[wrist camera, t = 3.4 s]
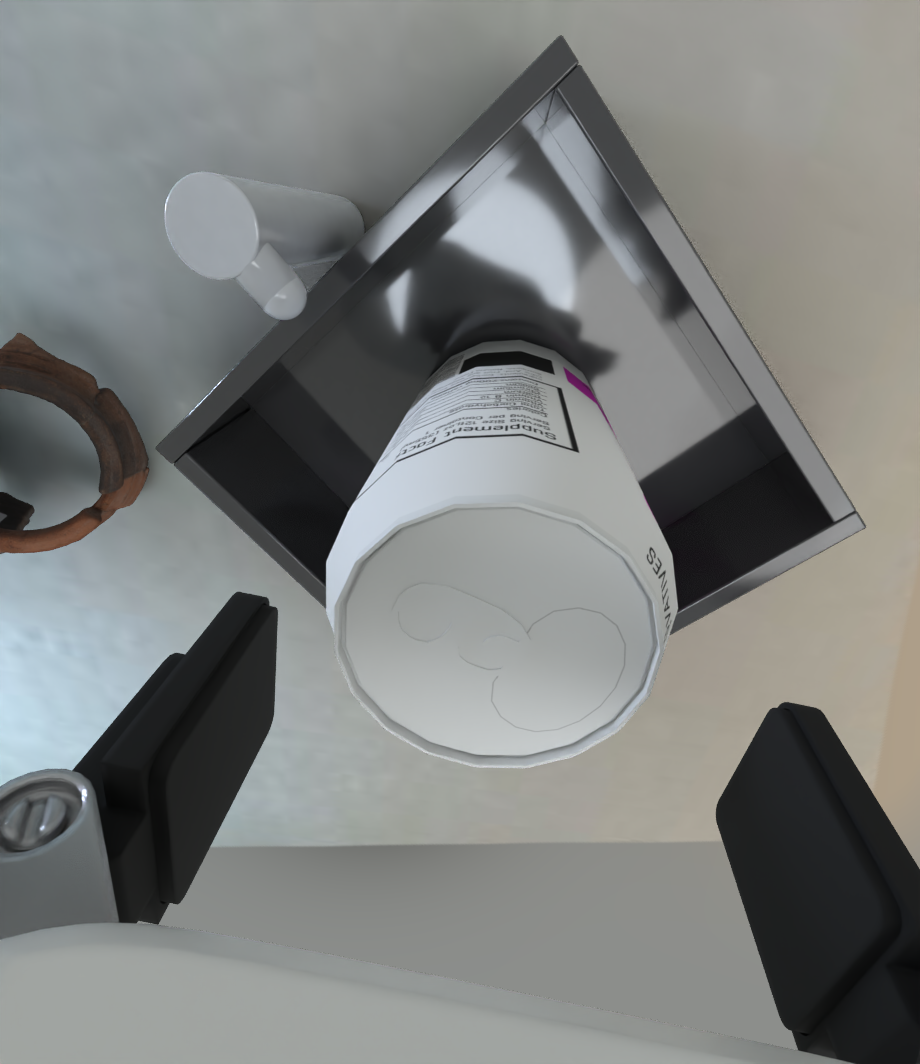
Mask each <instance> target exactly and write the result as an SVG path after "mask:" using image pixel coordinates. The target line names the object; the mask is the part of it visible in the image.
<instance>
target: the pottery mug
mask: <svg viewBox="0 0 920 1064" xmlns="http://www.w3.org/2000/svg"><path fill="white" fill-rule="evenodd" d="M0 389H7V390H14V391H17V392H20V393H26V394H30V395H33V396H36V397H39V398H41V399H44V400H47V401H48V402H51V403H53V404H55V405H56V406H58V407H59V408H61V409H62V410H64V411H65V412H66V413H68V414H69V415H70V416H71V417H72V418H73V419H75V420H76V421H77V422H78V423H79V424H80V426H81V427H82V428H83V429H84V431H85V432H86V433H87V434H88V436H89V437H90V439H91V441H92V442H93V444H94V446H95V448H96V451H97V454H98V457H99V462H100V469H101V474H100V483H99V492H100V493H101V494H102V495H101V497H100V498H99V499H98V501H97V502H96V503H95V504H94V505H93V506H92V507H89V508H86V509H84V510H82V511H81V512H80V513H79V514H77V515H76V516H74V517H73V518H71V519H69V520H67V521H65V522H63V523H61V524H58V525H55V526H52V527H48V528H44V529H38V530H23V529H24V527H25V526H26V525H27V524H28V523H29V522H30V520H29V518H30V517H31V516H32V514H33V513H34V507H33V506H32V505H30V504H28V503H26V502H23V501H20V500H18V499H16V498H14V497H13V496H11V495H9V494H7V493H4V492H0V554H2V553H5V552H8V553H35V552H42V551H49V550H54V549H56V548H60V547H63V546H66V545H69V544H71V543H73V542H76V541H79V540H81V539H82V538H83V537H85V536H86V535H88V534H89V533H90V532H92V531H93V530H94V529H96V528H97V527H98V526H99V525H100V524H102V523H103V522H105V521H106V520H107V519H109V518H110V517H111V516H112V515H113V514H114V513H115V511H116V510H117V509H120V508H124V507H127V506H130V505H131V504H133V502H134V501H135V500H136V498H137V497H138V495H139V493H140V491H141V490H142V488H143V486H144V484H145V481H146V478H147V476H148V472H149V468H148V467H147V466H148V456H147V453H146V449H145V446H144V443H143V441H142V439H141V436H140V434H139V432H138V430H137V427H136V425H135V423H134V422H133V420H132V418H131V416H130V414H129V413H128V411H127V410H126V408H125V407H124V406H123V405H122V403H121V402H120V400H119V399H118V397H117V396H116V395H115V393H114V392H113V391H111V390H110V389H108V388H102V389H98V386H97V382H96V379H95V378H94V376H92V375H91V374H89V373H87V372H86V371H84V370H82V369H81V368H79V367H77V366H74V365H72V364H69V363H67V362H65V361H64V360H61V359H58V358H56V357H55V356H53V355H51V354H50V353H48V352H46V351H45V350H43V349H42V348H40V347H39V346H37V345H36V344H35V342H34V341H32V340H31V339H30V338H28V337H26V336H25V335H23V334H22V333H17V334H16V336H15V337H14V338H13V339H12V340H10V341H9V342H8V343H7V344H5V345H4V346H3V347H2V348H1V349H0Z"/></svg>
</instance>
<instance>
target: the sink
mask: <svg viewBox="0 0 920 1064" xmlns="http://www.w3.org/2000/svg"><path fill="white" fill-rule="evenodd" d="M544 123H546V125H545V124H544ZM543 124H544V125H543ZM542 125H543V126H542ZM547 127H548V128H547ZM549 130H550V131H549ZM551 133H552V134H551ZM553 136H554V137H553ZM513 153H514V154H513ZM512 154H513V155H512ZM511 155H512V156H511ZM572 165H573V166H572ZM574 168H575V169H574ZM576 171H577V172H576ZM578 174H579V175H578ZM580 177H581V178H580ZM582 180H583V181H582ZM482 183H483V184H482ZM481 184H482V185H481ZM480 185H481V186H480ZM452 212H453V213H452ZM603 212H604V213H603ZM451 213H452V214H451ZM450 214H451V215H450ZM605 215H606V216H605ZM164 218H165V227H166V231H167V235H168V238H169V240H170V243H171V245H172V247H173V249H174V250H175V252H176V253H177V255H178V256H179V257H180V259H181V260H182V261H183V262H184V263H185V264H186V265H187V266H188V267H189V268H191V269H192V270H193V271H195V272H196V273H198V274H200V275H202V276H204V277H207V278H210V279H214V280H229V279H235V280H236V281H237V282H238V283H239V284H240V285H241V286H242V288H243V289H244V290H245V291H246V292H247V293H248V294H249V295H250V296H251V298H252V299H253V300H254V301H255V302H256V303H257V304H258V305H259V306H260V307H261V309H262V310H263V311H264V312H265V313H266V314H268V315H269V316H271V317H272V318H275V319H278V320H280V321H279V322H278V323H277V324H276V325H275V326H274V327H273V328H272V329H271V330H270V331H269V332H268V333H267V334H266V335H265V336H264V337H263V338H262V339H261V340H260V341H259V342H258V343H257V344H256V345H255V346H254V347H253V348H252V349H251V351H250V352H249V353H248V354H247V355H246V356H245V357H244V358H243V359H242V360H241V361H240V362H239V363H238V364H237V365H236V366H235V367H234V368H233V369H232V370H231V371H230V372H229V373H228V374H227V375H226V376H225V377H224V378H223V379H222V380H221V381H220V382H219V383H218V384H217V385H216V386H215V387H214V388H213V389H212V390H211V391H210V392H209V393H208V394H207V395H206V396H205V397H204V398H203V399H202V401H201V402H200V403H199V404H198V405H197V406H196V407H195V408H194V409H193V410H192V411H191V412H190V413H189V414H188V415H187V416H186V417H185V418H184V419H183V420H182V421H181V422H180V423H179V424H178V425H177V426H176V427H175V428H174V429H173V430H172V431H171V432H170V433H169V434H168V435H167V436H166V437H165V438H164V439H163V440H162V441H161V442H160V443H159V444H158V445H157V446H156V450H157V451H158V452H160V453H161V454H162V455H163V456H164V457H165V458H166V459H167V460H168V461H169V462H170V463H172V464H173V463H174V466H175V467H176V468H177V469H178V470H179V471H180V472H181V473H182V474H183V475H184V476H185V477H186V478H188V479H189V480H190V481H191V482H192V483H193V484H194V485H195V486H196V487H197V488H198V489H199V490H200V491H201V492H202V493H203V494H205V495H206V496H207V497H208V498H209V499H210V500H211V501H212V502H213V503H214V504H215V505H216V506H217V507H218V508H219V509H220V510H222V511H223V512H224V513H225V514H226V515H227V516H228V517H229V518H230V519H231V520H232V521H233V522H234V523H235V524H236V525H238V526H239V527H240V528H241V529H242V530H243V531H244V532H245V533H246V534H247V535H248V536H249V537H250V538H251V539H252V540H253V541H255V542H256V543H257V544H258V545H259V546H260V547H261V548H262V549H263V550H264V551H265V552H266V553H267V554H268V555H269V556H270V557H272V558H273V559H274V560H275V561H276V562H277V563H278V564H279V565H280V566H281V567H282V568H283V569H284V570H285V571H286V572H288V573H289V574H290V575H291V576H292V577H293V578H294V579H295V580H296V581H297V582H298V583H299V584H300V585H301V586H302V587H303V588H305V589H306V590H307V591H308V592H309V593H310V594H311V595H312V596H313V597H314V598H315V599H316V600H317V601H318V602H319V603H320V604H322V605H323V606H324V607H325V608H326V561H327V559H328V556H329V554H330V552H331V550H332V547H333V545H334V543H335V541H336V538H337V536H338V534H339V531H340V529H341V527H342V525H343V522H344V520H345V518H346V516H347V513H348V511H349V510H350V508H351V506H352V505H353V503H354V501H355V500H356V498H357V496H358V495H359V493H360V491H361V490H362V488H363V486H364V485H365V483H366V481H367V479H368V478H369V476H370V474H371V473H372V471H373V469H374V468H375V466H376V464H377V463H378V461H379V459H380V458H381V456H382V454H383V453H384V451H385V449H386V448H387V446H388V444H389V443H390V441H391V439H392V438H393V436H394V434H395V432H396V431H397V429H398V427H399V426H400V424H401V422H402V421H403V419H404V417H405V416H406V414H407V412H408V411H409V409H410V407H411V406H412V404H413V402H414V401H415V399H416V397H417V396H418V394H419V392H420V391H421V389H422V387H423V385H424V384H425V382H426V381H427V380H428V379H429V378H430V377H431V376H432V375H433V374H434V373H435V372H436V371H437V370H438V369H439V368H440V367H441V366H442V365H443V364H444V363H445V362H446V361H447V360H448V359H449V358H450V357H451V356H454V355H456V354H458V353H460V352H463V351H465V350H467V349H469V348H472V347H474V346H476V345H478V344H481V343H483V342H494V341H510V340H522V341H525V342H528V343H532V344H535V345H538V346H541V347H544V348H548V349H551V350H554V351H556V352H557V353H558V354H559V355H561V356H562V357H563V358H565V359H566V360H567V361H568V362H570V363H571V364H572V365H573V366H575V367H576V368H577V369H578V370H580V371H581V372H582V373H583V374H584V376H585V378H586V380H587V381H588V383H589V385H590V387H591V388H592V390H593V392H594V393H595V395H596V397H597V399H598V400H599V402H600V404H601V406H602V408H603V410H604V413H605V415H606V417H607V419H608V421H609V423H610V425H611V427H612V429H613V431H614V433H615V436H616V438H617V440H618V442H619V444H620V446H621V448H622V450H623V452H624V454H625V457H626V459H627V461H628V463H629V465H630V467H631V469H632V471H633V473H634V475H635V478H636V480H637V482H638V484H639V486H640V488H641V490H642V492H643V494H644V496H645V499H646V501H647V503H648V505H649V507H650V509H651V511H652V513H653V515H654V517H655V519H656V522H657V524H658V526H659V528H660V530H661V529H662V530H661V532H662V534H663V536H664V538H665V540H666V543H667V545H668V547H669V549H670V551H671V553H672V557H673V566H674V576H675V585H676V594H677V603H678V610H677V614H676V617H675V620H674V623H673V626H672V629H671V632H670V635H671V634H673V633H675V632H677V631H678V630H680V629H682V628H684V627H686V626H688V625H689V624H691V623H693V622H695V621H697V620H699V619H700V618H702V617H704V616H706V615H708V614H709V613H711V612H713V611H715V610H717V609H719V608H720V607H722V606H724V605H726V604H728V603H730V602H731V601H733V600H735V599H737V598H739V597H740V596H742V595H744V594H746V593H748V592H750V591H751V590H753V589H755V588H757V587H759V586H761V585H762V584H764V583H766V582H768V581H770V580H772V579H773V578H775V577H777V576H779V575H781V574H782V573H784V572H786V571H788V570H790V569H792V568H793V567H795V566H797V565H799V564H801V563H803V562H804V561H806V560H808V559H810V558H812V557H813V556H815V555H817V554H819V553H821V552H823V551H824V550H826V549H828V548H830V547H832V546H834V545H835V544H837V543H839V542H841V541H843V540H844V539H846V538H848V537H850V536H852V535H854V534H855V533H857V532H859V531H861V530H863V529H865V528H866V525H865V523H864V521H863V520H862V518H861V517H860V515H859V513H858V512H857V511H856V509H855V507H854V505H853V504H852V502H851V500H850V499H849V497H848V496H847V494H846V492H845V491H844V489H843V487H842V486H841V484H840V483H839V481H838V479H837V478H836V476H835V475H834V473H833V471H832V470H831V468H830V466H829V465H828V463H827V462H826V460H825V458H824V457H823V455H822V454H821V452H820V450H819V449H818V447H817V445H816V444H815V442H814V441H813V439H812V437H811V436H810V434H809V433H808V431H807V429H806V428H805V426H804V425H803V423H802V421H801V420H800V418H799V416H798V415H797V413H796V412H795V410H794V408H793V407H792V405H791V404H790V402H789V400H788V399H787V397H786V395H785V394H784V392H783V391H782V389H781V387H780V386H779V384H778V383H777V381H776V379H775V378H774V376H773V374H772V373H771V371H770V370H769V368H768V366H767V365H766V363H765V362H764V360H763V358H762V357H761V355H760V353H759V352H758V350H757V349H756V347H755V345H754V344H753V342H752V341H751V339H750V337H749V336H748V334H747V332H746V331H745V329H744V328H743V326H742V324H741V323H740V321H739V320H738V318H737V316H736V315H735V313H734V311H733V310H732V308H731V307H730V305H729V303H728V302H727V300H726V299H725V297H724V295H723V294H722V292H721V291H720V289H719V287H718V286H717V284H716V282H715V281H714V279H713V278H712V276H711V274H710V273H709V271H708V270H707V268H706V266H705V265H704V263H703V261H702V260H701V258H700V257H699V255H698V253H697V252H696V250H695V249H694V247H693V245H692V244H691V242H690V240H689V239H688V237H687V236H686V234H685V232H684V231H683V229H682V228H681V226H680V224H679V223H678V221H677V219H676V218H675V216H674V215H673V213H672V211H671V210H670V208H669V207H668V205H667V203H666V202H665V200H664V198H663V197H662V195H661V194H660V192H659V190H658V189H657V187H656V186H655V184H654V182H653V181H652V179H651V177H650V176H649V174H648V173H647V171H646V169H645V168H644V166H643V165H642V163H641V161H640V160H639V158H638V157H637V155H636V153H635V152H634V150H633V148H632V147H631V145H630V144H629V142H628V140H627V139H626V137H625V136H624V134H623V132H622V131H621V129H620V127H619V126H618V124H617V123H616V121H615V119H614V118H613V116H612V115H611V113H610V111H609V110H608V108H607V106H606V105H605V103H604V102H603V100H602V98H601V97H600V95H599V94H598V92H597V90H596V89H595V87H594V85H593V84H592V82H591V81H590V79H589V77H588V76H587V74H586V73H585V71H584V69H583V68H582V66H581V65H578V60H577V58H576V56H575V55H574V53H573V52H572V50H571V48H570V47H569V45H568V43H567V42H566V40H565V39H564V37H563V36H562V35H560V36H558V37H557V38H556V39H555V40H554V41H553V42H552V43H551V44H550V45H549V46H548V47H547V49H546V50H545V51H544V52H543V53H542V54H541V55H540V56H539V57H538V58H537V59H536V60H535V61H534V62H533V63H532V64H531V65H530V66H529V67H528V68H527V69H526V70H525V71H524V72H523V73H522V74H521V75H520V76H519V77H518V78H517V79H516V80H515V81H514V82H513V83H512V84H511V85H510V86H509V87H508V88H507V89H506V90H505V91H504V92H503V93H502V94H501V95H500V96H499V97H498V98H497V100H496V101H495V102H494V103H493V104H492V105H491V106H490V107H489V108H488V109H487V110H486V111H485V112H484V113H483V114H482V115H481V116H480V117H479V118H478V119H477V120H476V121H475V122H474V123H473V124H472V125H471V126H470V127H469V128H468V129H467V130H466V131H465V132H464V133H463V134H462V135H461V136H460V137H459V138H458V139H457V140H456V141H455V142H454V143H453V144H452V145H451V146H450V147H449V148H448V150H447V151H446V152H445V153H444V154H443V155H442V156H441V157H440V158H439V159H438V160H437V161H436V162H435V163H434V164H433V165H432V166H431V167H430V168H429V169H428V170H427V171H426V172H425V173H424V174H423V175H422V176H421V177H420V178H419V179H418V180H417V181H416V182H415V183H414V184H413V185H412V186H411V187H410V188H409V189H408V190H407V191H406V192H405V193H404V194H403V195H402V196H401V197H400V198H399V200H398V201H397V202H396V203H395V204H394V205H393V206H392V207H391V208H390V209H389V210H388V211H387V212H386V213H385V214H384V215H383V216H382V217H381V218H380V219H379V220H378V221H377V222H376V223H375V224H374V225H373V226H372V227H371V228H370V229H369V230H368V231H367V232H366V233H365V234H364V222H363V218H362V216H361V214H360V212H359V210H358V209H357V207H356V206H355V205H354V204H353V203H352V202H351V201H350V200H348V199H347V198H345V197H342V196H339V195H333V194H328V193H322V192H317V191H311V190H306V189H300V188H295V187H290V186H284V185H279V184H273V183H268V182H262V181H257V180H251V179H246V178H240V177H235V176H229V175H224V174H218V173H213V172H207V171H200V172H194V173H191V174H188V175H186V176H184V177H183V178H181V179H180V180H179V181H178V182H177V183H176V184H175V185H174V186H173V188H172V189H171V191H170V193H169V195H168V197H167V201H166V205H165V213H164ZM607 218H608V219H607ZM609 221H610V222H609ZM611 224H612V225H611ZM421 242H422V243H421ZM420 243H421V244H420ZM419 244H420V245H419ZM632 256H633V257H632ZM634 259H635V260H634ZM335 260H339V261H338V262H337V263H336V264H335V265H334V266H333V267H332V268H331V269H330V270H329V271H328V272H327V273H326V274H325V275H324V276H323V277H322V278H321V279H320V280H319V281H318V282H317V283H316V284H315V285H314V286H313V287H312V288H311V289H310V290H309V291H308V292H307V291H306V287H305V285H304V283H303V281H302V280H301V279H300V277H299V276H298V275H297V274H296V273H295V272H294V270H293V269H292V268H296V267H301V266H307V265H313V264H318V263H324V262H329V261H335ZM636 262H637V263H636ZM638 265H639V266H638ZM640 268H641V269H640ZM390 272H391V273H390ZM389 273H390V274H389ZM388 274H389V275H388ZM661 300H662V301H661ZM359 302H360V303H359ZM358 303H359V304H358ZM663 303H664V304H663ZM357 304H358V305H357ZM665 306H666V307H665ZM667 309H668V310H667ZM669 312H670V313H669ZM328 332H329V333H328ZM327 333H328V334H327ZM326 334H327V335H326ZM690 344H691V345H690ZM692 347H693V348H692ZM694 350H695V351H694ZM696 353H697V354H696ZM698 356H699V357H698ZM297 362H298V363H297ZM296 363H297V364H296ZM719 388H720V389H719ZM721 391H722V392H721ZM266 392H267V393H266ZM265 393H266V394H265ZM723 394H724V395H723ZM725 397H726V398H725ZM727 400H728V401H727ZM251 407H252V408H253V409H254V410H255V411H256V412H257V413H258V414H259V415H260V416H261V417H262V418H263V419H262V418H261V417H260V416H259V415H258V414H257V413H256V412H255V411H254V410H253V409H252V408H251ZM748 432H749V433H748ZM750 435H751V436H750ZM280 437H281V438H282V439H283V440H284V441H285V442H286V443H287V444H288V445H289V446H290V447H291V448H292V449H293V450H294V451H295V452H296V453H297V454H298V455H297V454H296V453H295V452H294V451H293V450H292V449H291V448H290V447H289V446H288V445H287V444H286V443H285V442H284V441H283V440H282V439H281V438H280ZM752 438H753V439H752ZM754 441H755V442H754ZM756 444H757V445H756ZM768 462H769V463H768ZM764 465H765V466H764ZM761 467H762V468H761ZM759 468H760V469H759ZM756 470H757V471H756ZM753 472H754V473H753ZM751 473H752V474H751ZM316 474H317V475H318V476H319V477H320V478H321V479H322V480H323V481H324V482H325V483H326V484H327V485H328V486H329V487H330V488H331V489H332V490H333V491H332V490H331V489H330V488H329V487H328V486H327V485H326V484H325V483H324V482H323V481H322V480H321V479H320V478H319V477H318V476H317V475H316ZM748 475H749V476H748ZM743 478H744V479H743ZM740 480H741V481H740ZM735 483H736V484H735ZM732 485H733V486H732ZM727 488H728V489H727ZM724 490H725V491H724ZM722 491H723V492H722ZM719 493H720V494H719ZM716 495H717V496H716ZM714 496H715V497H714ZM711 498H712V499H711ZM706 501H707V502H706ZM703 503H704V504H703ZM698 506H699V507H698ZM695 508H696V509H695ZM690 511H691V512H690ZM687 513H688V514H687ZM685 514H686V515H685ZM682 516H683V517H682ZM679 518H680V519H679ZM677 519H678V520H677ZM674 521H675V522H674ZM669 524H670V525H669ZM666 526H667V527H666Z"/></svg>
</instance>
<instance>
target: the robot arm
mask: <svg viewBox="0 0 920 1064" xmlns="http://www.w3.org/2000/svg"><path fill="white" fill-rule="evenodd" d="M277 622H278V610H277V608H276V607H272V606H269V600H268V598H267V597H262V596H257V595H252V594H247V593H242V592H236V593H235V594H234V595H233V596H232V597H231V598H230V599H229V601H228V602H227V603H226V604H225V606H224V607H223V608H222V609H221V611H220V612H219V613H218V614H217V616H216V617H215V618H214V619H213V621H212V622H211V623H210V625H209V626H208V627H207V628H206V630H205V631H204V632H203V633H202V635H201V636H200V637H199V638H198V640H197V641H196V642H195V643H194V645H193V646H192V647H191V648H190V650H189V651H188V652H187V653H186V655H185V654H180V653H174V654H172V655H170V656H169V657H168V658H167V659H166V660H165V661H164V662H163V663H162V664H161V665H160V666H159V668H158V669H157V670H156V671H155V672H154V674H153V675H152V676H151V677H150V678H149V680H148V681H147V682H146V683H145V684H144V686H143V687H142V688H141V689H140V690H139V692H138V693H137V694H136V695H135V696H134V698H133V699H132V700H131V701H130V702H129V704H128V705H127V706H126V707H125V708H124V709H123V711H122V712H121V713H120V714H119V715H118V717H117V718H116V719H115V720H114V721H113V723H112V724H111V725H110V726H109V727H108V729H107V730H106V731H105V732H104V733H103V735H102V736H101V737H100V738H99V739H98V741H97V742H96V743H95V744H94V745H93V747H92V748H91V749H90V750H89V751H88V753H87V754H86V755H85V756H84V757H83V758H82V760H81V761H80V762H79V763H78V764H77V766H76V767H75V768H74V769H73V770H72V771H71V770H67V769H45V770H40V771H35V772H31V773H27V774H25V775H22V776H20V777H17V778H15V779H13V780H10V781H8V782H7V783H5V784H4V785H2V786H0V1064H920V869H919V867H918V866H917V864H916V863H915V861H914V859H913V858H912V856H911V855H910V853H909V851H908V850H907V848H906V846H905V845H904V844H903V842H902V840H901V838H900V837H899V835H898V833H897V832H896V830H895V829H894V827H893V825H892V824H891V822H890V820H889V819H888V817H887V816H886V814H885V812H884V811H883V809H882V808H881V806H880V804H879V803H878V801H877V799H876V798H875V796H874V795H873V793H872V791H871V790H870V788H869V786H868V785H867V783H866V782H865V780H864V778H863V777H862V775H861V773H860V772H859V770H858V769H857V767H856V765H855V764H854V762H853V761H852V759H851V757H850V756H849V754H848V752H847V751H846V749H845V748H844V746H843V744H842V743H841V741H840V739H839V738H838V736H837V735H836V733H835V731H834V730H833V728H832V726H831V725H830V723H829V722H828V720H827V718H826V717H825V715H824V714H823V713H822V711H821V710H819V709H817V708H814V707H809V706H804V705H799V704H794V703H789V702H784V703H782V704H780V705H779V707H778V708H772V709H770V710H769V712H768V713H767V715H766V717H765V718H764V720H763V722H762V724H761V726H760V727H759V729H758V731H757V733H756V735H755V736H754V738H753V740H752V742H751V744H750V745H749V747H748V749H747V751H746V753H745V754H744V756H743V758H742V760H741V762H740V763H739V765H738V767H737V769H736V771H735V772H734V774H733V776H732V778H731V779H730V781H729V783H728V785H727V787H726V788H725V790H724V792H723V794H722V796H721V797H720V799H719V801H718V804H717V807H716V821H717V825H718V828H719V831H720V834H721V837H722V840H723V843H724V846H725V849H726V852H727V856H728V859H729V862H730V865H731V868H732V871H733V874H734V877H735V880H736V883H737V887H738V890H739V893H740V896H741V899H742V902H743V905H744V908H745V911H746V914H747V917H748V921H749V924H750V927H751V930H752V933H753V936H754V939H755V942H756V945H757V948H758V951H759V955H760V957H761V961H762V964H763V967H764V970H765V973H766V976H767V979H768V982H769V985H770V988H771V992H772V995H773V998H774V1001H775V1004H776V1007H777V1010H778V1013H779V1016H780V1018H781V1021H782V1023H783V1024H784V1026H785V1027H786V1028H787V1029H788V1030H792V1033H793V1036H794V1039H795V1042H796V1045H797V1048H798V1050H793V1049H788V1048H783V1047H779V1046H774V1045H769V1044H764V1043H759V1042H755V1041H750V1040H745V1039H740V1038H736V1037H731V1036H726V1035H722V1034H717V1033H712V1032H708V1031H703V1030H698V1029H693V1028H689V1027H684V1026H679V1025H675V1024H670V1023H665V1022H660V1021H656V1020H651V1019H646V1018H641V1017H637V1016H632V1015H627V1014H622V1013H617V1012H612V1011H607V1010H603V1009H598V1008H593V1007H588V1006H583V1005H578V1004H574V1003H569V1002H564V1001H559V1000H554V999H549V998H544V997H540V996H535V995H530V994H524V993H519V992H515V991H510V990H505V989H500V988H496V987H490V986H485V985H481V984H475V983H471V982H466V981H461V980H456V979H451V978H446V977H441V976H436V975H431V974H426V973H421V972H416V971H411V970H406V969H401V968H396V967H391V966H386V965H381V964H376V963H371V962H366V961H361V960H356V959H351V958H346V957H341V956H336V955H331V954H326V953H321V952H316V951H311V950H306V949H301V948H295V947H290V946H284V945H279V944H273V943H267V942H262V941H256V940H251V939H245V938H240V937H234V936H229V935H223V934H218V933H212V932H207V931H201V930H193V929H184V928H177V927H169V926H161V925H153V924H159V922H160V920H161V918H162V916H163V914H164V913H165V911H166V909H167V907H168V905H169V903H173V904H179V903H180V902H181V901H182V899H183V898H184V896H185V895H186V893H187V891H188V889H189V887H190V885H191V883H192V881H193V879H194V877H195V875H196V873H197V871H198V869H199V867H200V865H201V864H202V862H203V859H204V858H205V856H206V854H207V852H208V850H209V848H210V846H211V844H212V842H213V840H214V838H215V836H216V834H217V832H218V830H219V828H220V826H221V824H222V822H223V820H224V818H225V816H226V815H227V813H228V811H229V809H230V807H231V805H232V803H233V801H234V799H235V797H236V795H237V793H238V791H239V789H240V787H241V785H242V783H243V781H244V779H245V777H246V775H247V773H248V771H249V769H250V767H251V766H252V764H253V762H254V760H255V758H256V756H257V754H258V752H259V750H260V748H261V746H262V744H263V742H264V740H265V738H266V736H267V734H268V732H269V730H270V727H271V724H272V721H273V716H274V703H275V676H276V649H277ZM138 921H143V922H148V923H153V924H136V923H137V922H138Z"/></svg>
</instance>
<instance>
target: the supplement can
mask: <svg viewBox="0 0 920 1064" xmlns="http://www.w3.org/2000/svg"><path fill="white" fill-rule="evenodd" d="M677 610H678V603H677V594H676V585H675V576H674V566H673V557H672V553H671V551H670V549H669V547H668V545H667V543H666V540H665V538H664V536H663V534H662V532H661V530H660V528H659V526H658V524H657V522H656V519H655V517H654V515H653V513H652V511H651V509H650V507H649V505H648V503H647V501H646V499H645V496H644V494H643V492H642V490H641V488H640V486H639V484H638V482H637V480H636V478H635V475H634V473H633V471H632V469H631V467H630V465H629V463H628V461H627V459H626V457H625V454H624V452H623V450H622V448H621V446H620V444H619V442H618V440H617V438H616V436H615V433H614V431H613V429H612V427H611V425H610V423H609V421H608V419H607V417H606V415H605V413H604V410H603V408H602V406H601V404H600V402H599V400H598V399H597V397H596V395H595V393H594V392H593V390H592V388H591V387H590V385H589V383H588V381H587V380H586V378H585V376H584V374H583V373H582V372H581V371H580V370H578V369H577V368H576V367H575V366H573V365H572V364H571V363H570V362H568V361H567V360H566V359H565V358H563V357H562V356H561V355H559V354H558V353H557V352H556V351H554V350H551V349H548V348H544V347H541V346H538V345H535V344H532V343H528V342H525V341H522V340H510V341H494V342H483V343H481V344H478V345H476V346H474V347H472V348H469V349H467V350H465V351H463V352H460V353H458V354H456V355H454V356H451V357H450V358H449V359H448V360H447V361H446V362H445V363H444V364H443V365H442V366H441V367H440V368H439V369H438V370H437V371H436V372H435V373H434V374H433V375H432V376H431V377H430V378H429V379H428V380H427V381H426V382H425V384H424V385H423V387H422V389H421V391H420V392H419V394H418V396H417V397H416V399H415V401H414V402H413V404H412V406H411V407H410V409H409V411H408V412H407V414H406V416H405V417H404V419H403V421H402V422H401V424H400V426H399V427H398V429H397V431H396V432H395V434H394V436H393V438H392V439H391V441H390V443H389V444H388V446H387V448H386V449H385V451H384V453H383V454H382V456H381V458H380V459H379V461H378V463H377V464H376V466H375V468H374V469H373V471H372V473H371V474H370V476H369V478H368V479H367V481H366V483H365V485H364V486H363V488H362V490H361V491H360V493H359V495H358V496H357V498H356V500H355V501H354V503H353V505H352V506H351V508H350V510H349V511H348V513H347V516H346V518H345V520H344V522H343V525H342V527H341V529H340V531H339V534H338V536H337V538H336V541H335V543H334V545H333V547H332V550H331V552H330V554H329V556H328V559H327V561H326V613H327V616H328V619H329V621H330V624H331V626H332V629H333V632H334V653H335V655H336V658H337V660H338V662H339V665H340V667H341V670H342V672H343V674H344V677H345V679H346V681H347V684H348V686H349V689H350V691H351V693H352V695H353V696H354V697H355V698H356V699H357V700H358V701H359V703H360V704H361V705H362V706H363V707H364V708H365V709H366V710H367V711H368V712H369V713H370V714H371V716H372V717H373V718H374V719H375V720H376V721H377V722H378V723H379V724H380V725H381V726H382V727H383V729H385V730H386V731H388V732H390V733H392V734H393V735H395V736H397V737H398V738H400V739H402V740H404V741H405V742H407V743H409V744H410V745H412V746H414V747H416V748H417V749H419V750H421V751H422V752H424V753H426V754H429V755H432V756H436V757H440V758H443V759H447V760H451V761H454V762H458V763H462V764H465V765H469V766H473V767H487V768H529V767H534V766H538V765H542V764H546V763H550V762H554V761H558V760H562V759H566V758H571V757H575V756H577V755H579V754H581V753H582V752H584V751H586V750H587V749H589V748H591V747H593V746H594V745H596V744H598V743H600V742H601V741H603V740H605V739H607V738H608V737H610V736H612V735H613V734H615V733H617V732H619V730H620V729H621V728H622V727H623V726H624V725H625V724H626V722H627V721H628V720H629V719H630V718H631V717H632V715H633V714H634V713H635V712H636V711H637V710H638V709H639V707H640V706H641V705H642V704H643V703H644V702H645V700H646V699H647V698H648V697H649V696H650V693H651V690H652V687H653V684H654V681H655V678H656V675H657V672H658V669H659V666H660V663H661V660H662V657H663V654H664V650H665V647H666V644H667V641H668V638H669V635H670V632H671V629H672V626H673V623H674V620H675V617H676V614H677Z"/></svg>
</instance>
